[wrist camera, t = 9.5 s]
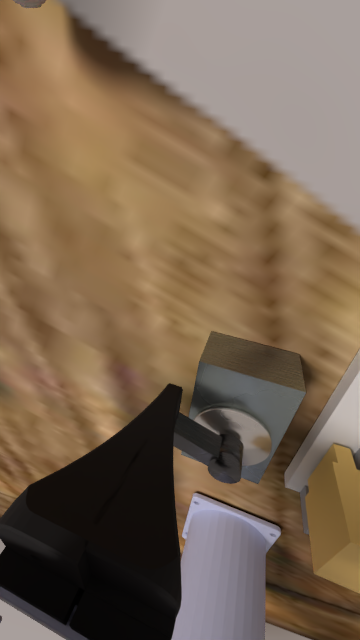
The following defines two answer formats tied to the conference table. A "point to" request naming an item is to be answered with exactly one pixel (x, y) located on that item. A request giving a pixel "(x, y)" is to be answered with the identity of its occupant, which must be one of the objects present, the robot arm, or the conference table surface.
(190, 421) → the dark lever handle
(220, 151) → the conference table surface
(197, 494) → the robot arm
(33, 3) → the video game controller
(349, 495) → the carriage
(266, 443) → the lever base
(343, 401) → the rail
